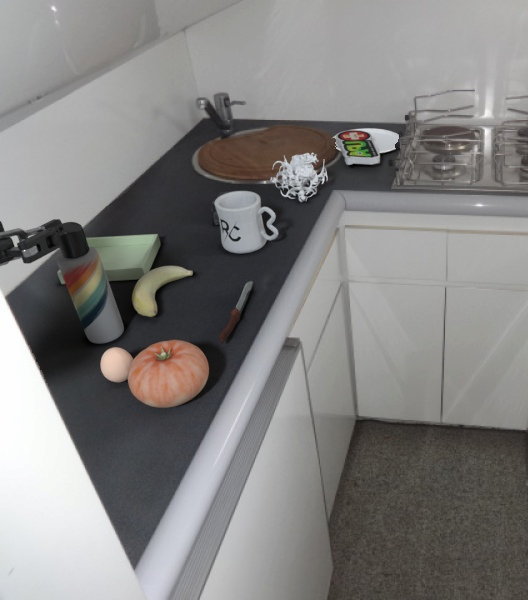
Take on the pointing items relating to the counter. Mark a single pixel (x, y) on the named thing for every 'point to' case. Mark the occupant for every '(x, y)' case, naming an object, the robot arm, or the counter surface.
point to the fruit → (154, 287)
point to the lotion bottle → (88, 286)
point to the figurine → (299, 175)
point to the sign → (358, 147)
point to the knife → (236, 313)
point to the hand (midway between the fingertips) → (30, 226)
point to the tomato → (168, 373)
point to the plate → (380, 139)
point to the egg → (116, 364)
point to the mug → (243, 222)
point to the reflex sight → (215, 214)
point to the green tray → (125, 255)
